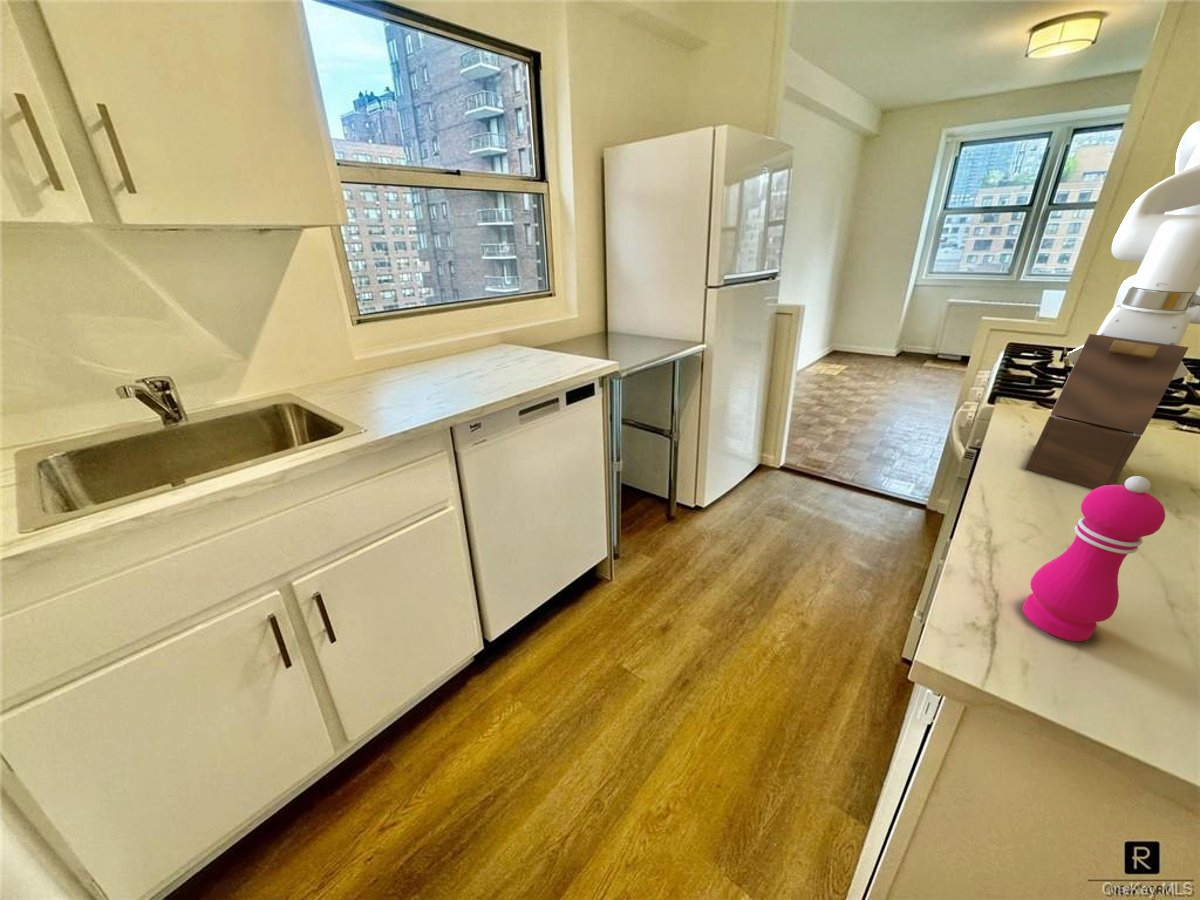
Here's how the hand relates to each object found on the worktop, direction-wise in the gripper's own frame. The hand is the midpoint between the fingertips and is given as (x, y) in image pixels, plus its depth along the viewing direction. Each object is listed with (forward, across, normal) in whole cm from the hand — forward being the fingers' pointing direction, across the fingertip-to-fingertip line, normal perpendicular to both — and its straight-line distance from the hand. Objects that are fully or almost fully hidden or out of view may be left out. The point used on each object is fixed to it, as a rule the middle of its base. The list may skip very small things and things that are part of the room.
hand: (1103, 402), depth 87 cm
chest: (+13, 0, +3) cm, 13 cm away
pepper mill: (+13, -4, +54) cm, 55 cm away
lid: (-5, 0, +6) cm, 8 cm away
